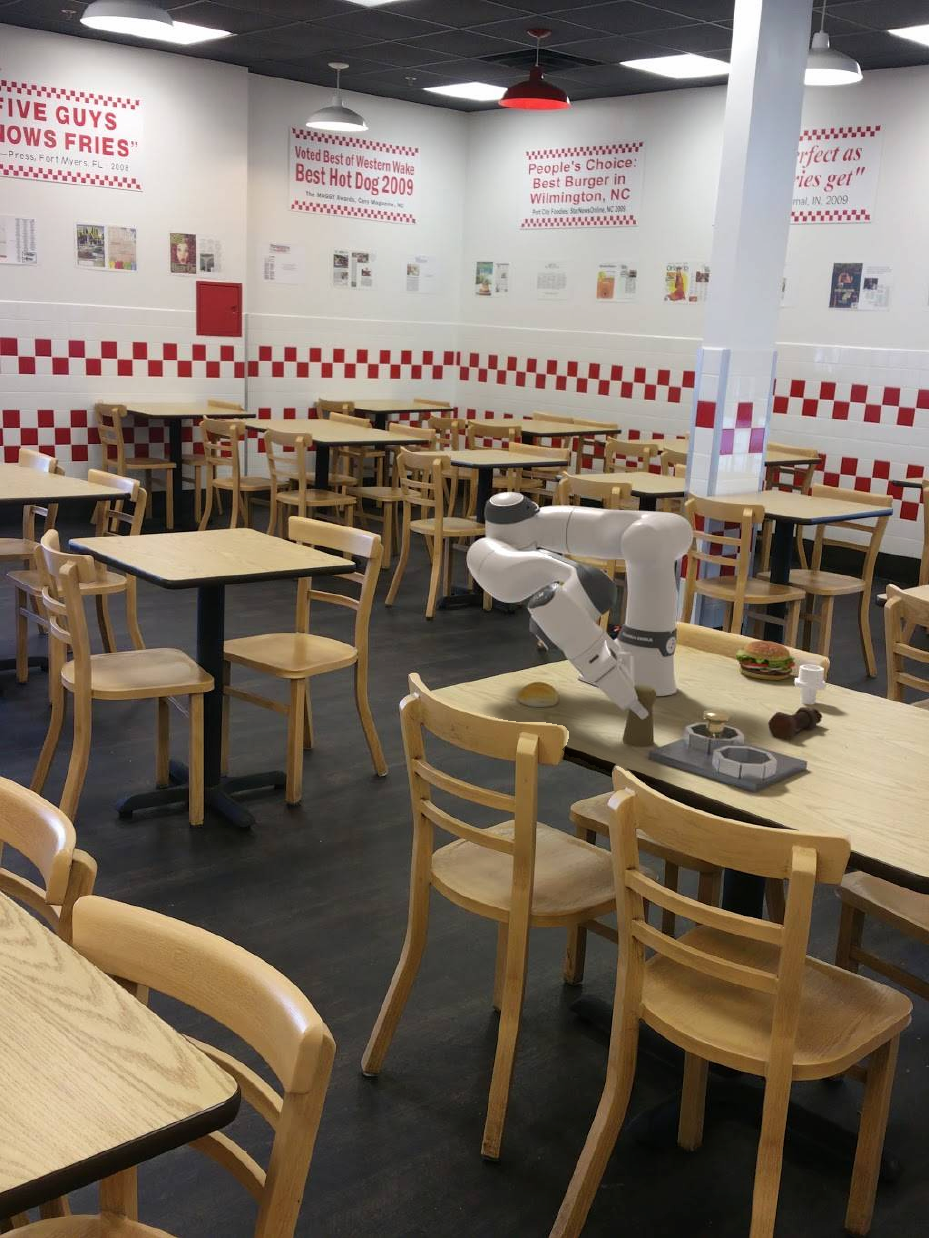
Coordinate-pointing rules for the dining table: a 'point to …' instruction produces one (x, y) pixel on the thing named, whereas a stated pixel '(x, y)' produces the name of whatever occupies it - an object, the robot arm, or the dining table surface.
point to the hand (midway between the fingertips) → (643, 708)
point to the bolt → (793, 722)
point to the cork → (641, 720)
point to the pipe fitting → (810, 682)
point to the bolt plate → (726, 755)
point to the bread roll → (538, 695)
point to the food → (765, 660)
